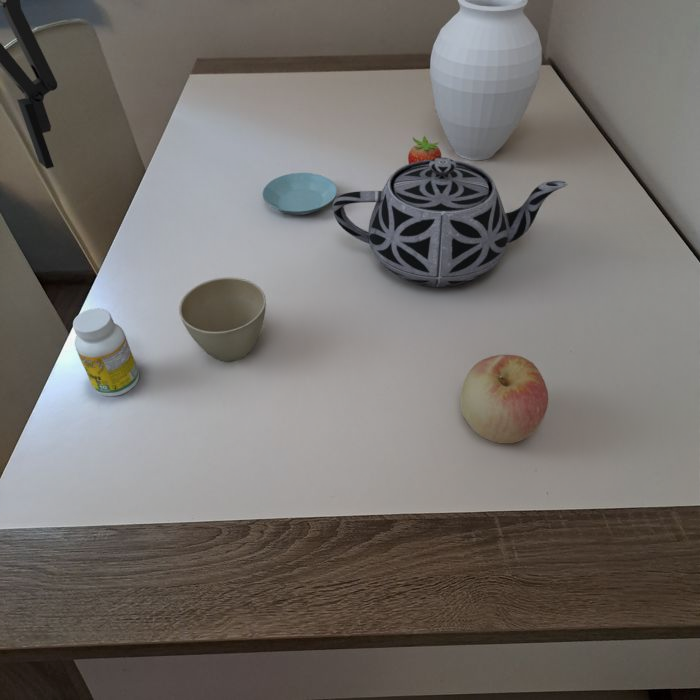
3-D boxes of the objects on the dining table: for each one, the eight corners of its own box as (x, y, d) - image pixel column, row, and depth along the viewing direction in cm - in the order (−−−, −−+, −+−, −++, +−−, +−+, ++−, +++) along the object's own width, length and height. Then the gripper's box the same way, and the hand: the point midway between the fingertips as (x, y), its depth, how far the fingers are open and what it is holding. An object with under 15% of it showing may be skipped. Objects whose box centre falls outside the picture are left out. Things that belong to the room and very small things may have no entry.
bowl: (179, 372, 77) (165, 327, 72) (207, 317, 84) (196, 273, 79) (259, 381, 76) (251, 336, 71) (281, 325, 83) (275, 280, 78)
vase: (489, 121, 124) (507, -25, 107) (546, 161, 112) (577, 3, 95) (407, 141, 119) (413, -9, 102) (458, 184, 107) (474, 23, 90)
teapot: (565, 300, 85) (592, 199, 74) (332, 301, 86) (326, 202, 75) (538, 221, 98) (557, 127, 88) (337, 223, 100) (333, 130, 89)
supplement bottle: (148, 381, 76) (126, 319, 69) (106, 405, 73) (80, 343, 67) (125, 358, 79) (102, 297, 72) (85, 381, 76) (57, 319, 70)
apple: (523, 390, 73) (535, 338, 68) (551, 451, 67) (567, 400, 61) (448, 399, 73) (454, 347, 67) (470, 463, 66) (478, 411, 61)
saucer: (351, 198, 105) (351, 185, 103) (305, 231, 98) (304, 218, 97) (296, 178, 110) (295, 165, 109) (249, 208, 103) (247, 195, 102)
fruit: (439, 175, 110) (442, 130, 104) (439, 190, 106) (443, 144, 100) (407, 174, 110) (409, 129, 104) (406, 190, 106) (408, 144, 101)
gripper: (17, -100, 60) (89, 141, 74) (-253, -80, 51) (-113, 194, 64) (41, -101, 55) (114, 158, 69) (-253, -79, 46) (-101, 217, 59)
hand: (5, 175), depth 67 cm, fingers open, 8 cm apart
